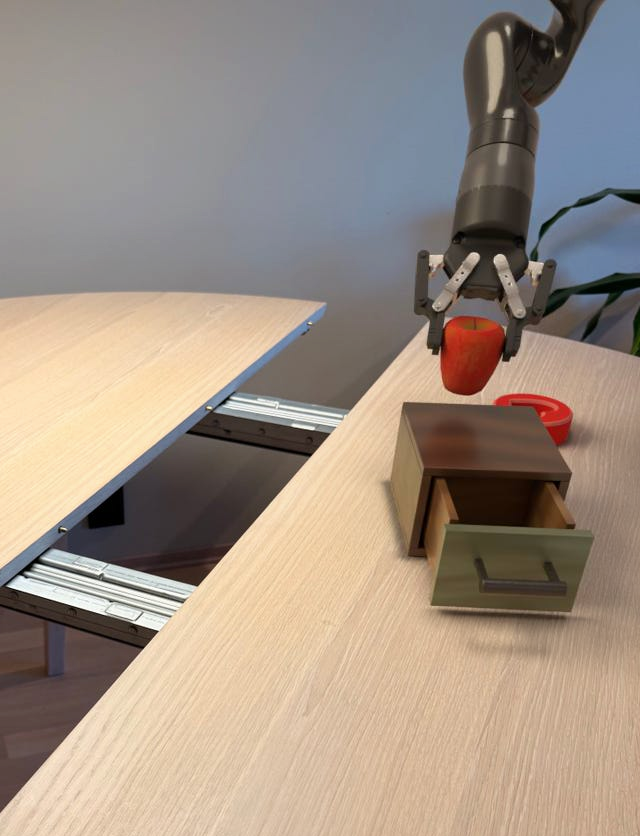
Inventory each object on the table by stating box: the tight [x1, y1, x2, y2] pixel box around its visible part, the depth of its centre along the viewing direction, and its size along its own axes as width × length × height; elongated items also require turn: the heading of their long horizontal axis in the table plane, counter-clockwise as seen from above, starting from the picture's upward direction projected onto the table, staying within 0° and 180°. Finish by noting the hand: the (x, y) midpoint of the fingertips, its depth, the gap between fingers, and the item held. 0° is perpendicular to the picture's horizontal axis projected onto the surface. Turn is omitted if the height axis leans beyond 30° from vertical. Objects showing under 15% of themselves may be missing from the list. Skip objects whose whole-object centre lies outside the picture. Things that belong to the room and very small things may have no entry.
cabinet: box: [389, 401, 573, 557], centre depth 102 cm, size 16×14×10 cm
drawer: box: [421, 476, 595, 613], centre depth 91 cm, size 19×13×8 cm, turn 176°
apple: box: [439, 315, 506, 397], centre depth 101 cm, size 6×6×8 cm
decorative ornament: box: [491, 392, 574, 446], centre depth 122 cm, size 10×10×3 cm
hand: (471, 354), depth 99 cm, fingers closed on apple, 6 cm apart
